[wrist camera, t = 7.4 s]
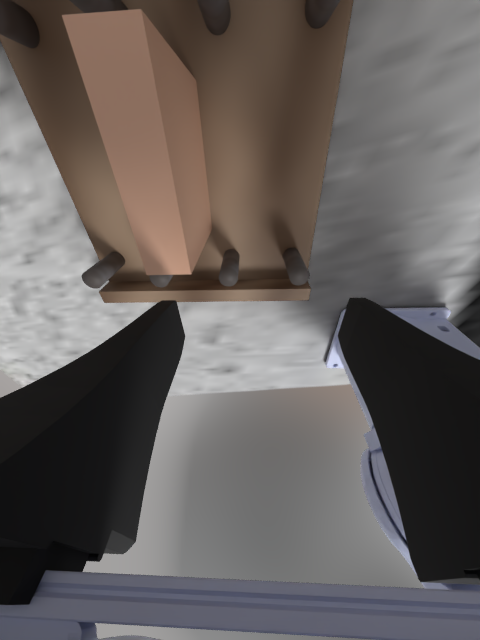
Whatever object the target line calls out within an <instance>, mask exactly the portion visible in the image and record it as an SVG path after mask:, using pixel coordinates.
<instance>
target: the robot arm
mask: <svg viewBox="0 0 480 640" xmlns="http://www.w3.org/2000/svg"><path fill="white" fill-rule="evenodd" d="M432 312H433V313H432ZM450 313H451V311H450V310H449V309H448V308H445V307H443V308H383V307H381V306H380V305H378V304H376V303H374V302H372V301H371V300H368V299H366V298H350V299H349V302H348V305H347V308H346V309H344V310H343V311H342V312H341V315H340V318H339V321H338V325H337V328H336V331H335V334H334V337H333V341H332V344H331V347H330V350H329V353H328V357H327V360H326V367H328V368H344V369H345V371H346V374H347V376H348V378H349V381H350V383H351V385H352V387H353V390H354V392H355V395H356V397H357V399H358V401H359V404H360V406H361V408H362V411H363V413H364V415H365V418H366V420H367V422H368V424H369V427H370V429H371V431H369V432H367V433H365V434H364V437H365V439H366V442H367V444H368V447H369V448H368V449H366V450H364V452H363V454H362V457H361V479H362V484H363V487H364V491H365V494H366V497H367V500H368V502H369V504H370V507H371V509H372V511H373V514H374V516H375V517H376V519H377V521H378V523H379V525H380V527H381V528H382V530H383V531H384V533H385V534H386V536H387V537H388V539H389V540H390V541H391V543H392V544H393V545H394V546H395V547H396V548H397V549H398V550H399V552H400V553H401V554H402V555H403V557H404V558H405V559H406V561H407V562H408V563H409V565H410V566H411V568H412V569H413V571H414V572H415V573H416V575H417V577H418V579H419V580H420V582H421V583H422V585H423V587H424V588H425V589H424V588H403V587H381V586H362V585H339V584H320V583H299V582H277V581H257V580H236V579H215V578H195V577H173V576H153V575H132V574H131V575H130V574H111V573H91V572H82V571H83V569H84V566H85V564H86V561H98V562H99V561H100V560H101V559H102V556H103V554H104V553H109V554H124V553H125V552H127V551H128V550H129V549H130V547H132V545H133V544H134V543H135V542H136V537H137V530H138V524H139V518H140V512H141V507H142V501H143V495H144V489H145V485H146V480H147V474H148V469H149V464H150V460H151V455H152V450H153V446H154V442H155V437H156V433H157V429H158V425H159V421H160V416H161V413H162V410H163V406H164V403H165V400H166V397H167V395H168V392H169V389H170V386H171V384H172V381H173V378H174V375H175V372H176V369H177V367H178V364H179V361H180V358H181V354H182V350H183V345H184V340H185V334H184V330H183V326H182V322H181V318H180V314H179V310H178V306H177V302H176V300H162V301H160V302H159V303H157V304H156V305H154V306H153V307H152V308H150V309H149V310H148V311H146V312H145V313H144V314H142V315H141V316H140V317H138V318H137V319H136V320H134V321H133V322H132V323H130V324H129V325H128V326H126V327H125V328H124V329H122V330H121V331H119V332H118V333H116V334H115V335H114V336H112V337H111V338H109V339H108V340H106V341H105V342H104V343H102V344H101V345H99V346H98V347H96V348H94V349H93V350H91V351H90V352H88V353H86V354H85V355H83V356H81V357H80V358H78V359H76V360H74V361H73V362H71V363H69V364H67V365H66V366H64V367H62V368H60V369H58V370H56V371H54V372H52V373H50V374H48V375H47V376H45V377H43V378H41V379H39V380H37V381H35V382H33V383H31V384H29V385H27V386H25V387H23V388H21V389H19V390H16V391H14V392H12V393H10V394H8V395H6V396H4V397H1V398H0V640H160V639H155V638H149V637H145V636H117V637H109V638H103V639H98V638H97V635H96V625H95V623H107V624H123V625H140V626H157V627H174V628H191V629H207V630H224V631H242V632H259V633H275V634H292V635H309V636H326V637H343V638H360V639H376V640H480V348H479V347H478V346H477V345H476V344H474V343H473V342H472V341H471V340H470V339H469V338H467V337H466V336H465V335H464V334H463V333H462V332H460V331H459V330H458V329H457V328H456V327H455V326H454V325H452V324H451V323H450V322H449V321H448V320H447V318H448V316H449V315H450Z"/></svg>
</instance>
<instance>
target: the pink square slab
mask: <svg viewBox="0 0 480 640" xmlns="http://www.w3.org/2000/svg"><path fill="white" fill-rule="evenodd" d="M62 18H63V21H64V24H65V27H66V30H67V33H68V36H69V39H70V42H71V45H72V48H73V51H74V54H75V57H76V61H77V64H78V67H79V70H80V73H81V76H82V79H83V82H84V85H85V88H86V91H87V94H88V97H89V100H90V103H91V106H92V110H93V113H94V116H95V119H96V122H97V125H98V128H99V131H100V134H101V137H102V140H103V143H104V146H105V149H106V152H107V155H108V158H109V162H110V165H111V168H112V171H113V174H114V177H115V180H116V183H117V186H118V189H119V192H120V195H121V198H122V201H123V204H124V207H125V210H126V214H127V217H128V220H129V223H130V226H131V229H132V232H133V235H134V238H135V241H136V244H137V247H138V250H139V253H140V256H141V259H142V262H143V266H144V269H145V272H146V275H185V274H192V272H193V269H194V267H195V265H196V263H197V261H198V259H199V256H200V254H201V252H202V250H203V248H204V245H205V243H206V241H207V239H208V237H209V235H210V232H211V230H212V222H211V212H210V203H209V194H208V185H207V175H206V166H205V157H204V148H203V139H202V129H201V120H200V111H199V102H198V92H197V83H196V80H195V78H194V77H193V76H192V74H191V73H190V72H189V70H188V69H187V68H186V67H185V65H184V64H183V63H182V61H181V60H180V59H179V57H178V56H177V55H176V54H175V52H174V51H173V50H172V48H171V47H170V46H169V44H168V43H167V42H166V41H165V39H164V38H163V37H162V35H161V34H160V33H159V32H158V30H157V29H156V28H155V26H154V25H153V24H152V22H151V21H150V20H149V19H148V17H147V16H146V15H145V13H144V12H143V11H142V9H135V10H121V11H108V12H95V13H82V14H69V15H62Z"/></svg>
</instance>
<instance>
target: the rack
mask: <svg viewBox="0 0 480 640" xmlns="http://www.w3.org/2000/svg"><path fill="white" fill-rule="evenodd" d="M352 6H353V0H0V41H1V43H2V45H3V47H4V49H5V52H6V54H7V56H8V58H9V61H10V63H11V65H12V67H13V69H14V72H15V74H16V76H17V78H18V80H19V83H20V85H21V87H22V89H23V92H24V94H25V96H26V98H27V100H28V103H29V105H30V107H31V109H32V111H33V114H34V116H35V118H36V120H37V123H38V125H39V127H40V129H41V131H42V134H43V136H44V138H45V140H46V142H47V145H48V147H49V149H50V151H51V154H52V156H53V158H54V160H55V162H56V165H57V167H58V169H59V171H60V174H61V176H62V178H63V180H64V182H65V185H66V187H67V189H68V191H69V193H70V196H71V198H72V200H73V202H74V205H75V207H76V209H77V211H78V213H79V216H80V218H81V220H82V222H83V224H84V227H85V229H86V231H87V233H88V236H89V238H90V240H91V242H92V244H93V247H94V249H95V251H96V253H97V255H98V258H99V260H100V261H99V262H98V263H96V264H95V265H94V266H92V267H91V268H90V269H88V270H87V271H86V272H84V273H83V274H82V279H83V281H84V283H85V284H86V285H88V286H89V287H91V288H100V287H101V286H102V285H103V284H104V283H105V282H106V281H107V280H109V283H108V284H107V285H105V286H104V287H103V288H102V289H101V290H100V291H99V293H100V295H101V297H102V299H103V301H104V303H123V302H160V301H162V300H176V302H208V301H293V300H309V296H310V291H311V288H310V286H309V283H308V279H309V276H310V275H309V271H308V266H309V260H310V254H311V248H312V242H313V236H314V231H315V225H316V219H317V213H318V207H319V201H320V195H321V189H322V183H323V177H324V171H325V165H326V160H327V154H328V148H329V142H330V136H331V130H332V124H333V118H334V112H335V106H336V100H337V94H338V89H339V83H340V77H341V71H342V65H343V59H344V53H345V47H346V41H347V35H348V29H349V23H350V18H351V12H352ZM135 9H142V11H143V12H144V13H145V15H146V16H147V17H148V19H149V20H150V21H151V22H152V24H153V25H154V26H155V28H156V29H157V30H158V32H159V33H160V34H161V35H162V37H163V38H164V39H165V41H166V42H167V43H168V44H169V46H170V47H171V48H172V50H173V51H174V52H175V54H176V55H177V56H178V57H179V59H180V60H181V61H182V63H183V64H184V65H185V67H186V68H187V69H188V70H189V72H190V73H191V74H192V76H193V77H194V78H195V80H196V83H197V92H198V102H199V111H200V120H201V129H202V139H203V148H204V157H205V166H206V175H207V185H208V194H209V203H210V212H211V222H212V230H211V232H210V235H209V237H208V239H207V241H206V243H205V245H204V248H203V250H202V252H201V254H200V256H199V259H198V261H197V263H196V265H195V267H194V269H193V272H192V274H185V275H146V272H145V269H144V266H143V262H142V259H141V256H140V253H139V250H138V247H137V244H136V241H135V238H134V235H133V232H132V229H131V226H130V223H129V220H128V217H127V214H126V210H125V207H124V204H123V201H122V198H121V195H120V192H119V189H118V186H117V183H116V180H115V177H114V174H113V171H112V168H111V165H110V162H109V158H108V155H107V152H106V149H105V146H104V143H103V140H102V137H101V134H100V131H99V128H98V125H97V122H96V119H95V116H94V113H93V110H92V106H91V103H90V100H89V97H88V94H87V91H86V88H85V85H84V82H83V79H82V76H81V73H80V70H79V67H78V64H77V61H76V57H75V54H74V51H73V48H72V45H71V42H70V39H69V36H68V33H67V30H66V27H65V24H64V21H63V18H62V15H69V14H82V13H95V12H108V11H121V10H135Z"/></svg>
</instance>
